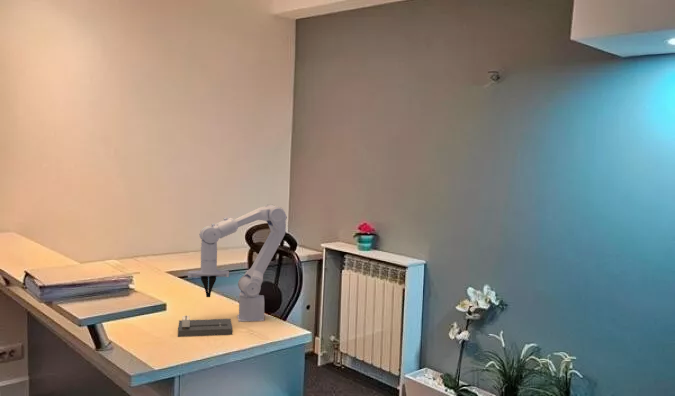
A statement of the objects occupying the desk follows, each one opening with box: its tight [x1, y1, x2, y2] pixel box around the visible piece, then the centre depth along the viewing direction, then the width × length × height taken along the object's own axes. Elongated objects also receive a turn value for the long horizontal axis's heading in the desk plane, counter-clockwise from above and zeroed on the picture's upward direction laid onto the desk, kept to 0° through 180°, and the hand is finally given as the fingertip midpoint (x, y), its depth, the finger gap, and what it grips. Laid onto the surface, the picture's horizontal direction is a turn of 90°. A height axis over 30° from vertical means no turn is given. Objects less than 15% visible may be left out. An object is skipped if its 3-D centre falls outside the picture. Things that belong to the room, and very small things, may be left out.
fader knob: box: [181, 315, 191, 327], centre depth 203 cm, size 2×5×3 cm, turn 13°
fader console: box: [177, 318, 233, 338], centre depth 205 cm, size 18×12×2 cm, turn 103°
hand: (208, 296), depth 215 cm, fingers closed
